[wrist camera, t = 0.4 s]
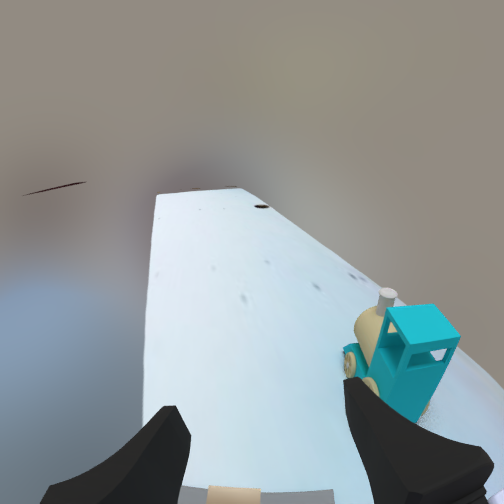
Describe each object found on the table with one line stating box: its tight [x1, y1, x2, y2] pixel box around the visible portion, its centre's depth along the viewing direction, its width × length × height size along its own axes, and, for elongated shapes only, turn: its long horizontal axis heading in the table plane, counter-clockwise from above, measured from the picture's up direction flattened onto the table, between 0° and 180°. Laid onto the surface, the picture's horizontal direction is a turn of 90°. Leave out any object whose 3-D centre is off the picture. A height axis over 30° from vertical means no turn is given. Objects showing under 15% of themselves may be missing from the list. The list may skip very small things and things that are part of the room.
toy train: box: [343, 288, 461, 423], centre depth 34 cm, size 8×17×15 cm, turn 0°
